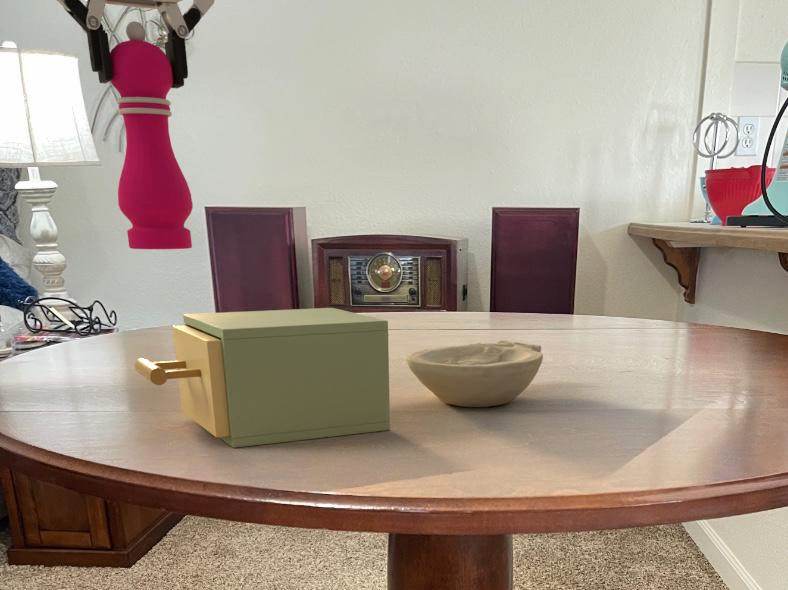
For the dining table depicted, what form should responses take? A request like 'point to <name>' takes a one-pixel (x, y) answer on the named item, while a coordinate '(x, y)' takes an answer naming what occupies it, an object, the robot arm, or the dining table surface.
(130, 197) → the pepper mill
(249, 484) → the dining table surface
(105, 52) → the robot arm
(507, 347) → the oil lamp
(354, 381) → the cabinet
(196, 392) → the drawer
